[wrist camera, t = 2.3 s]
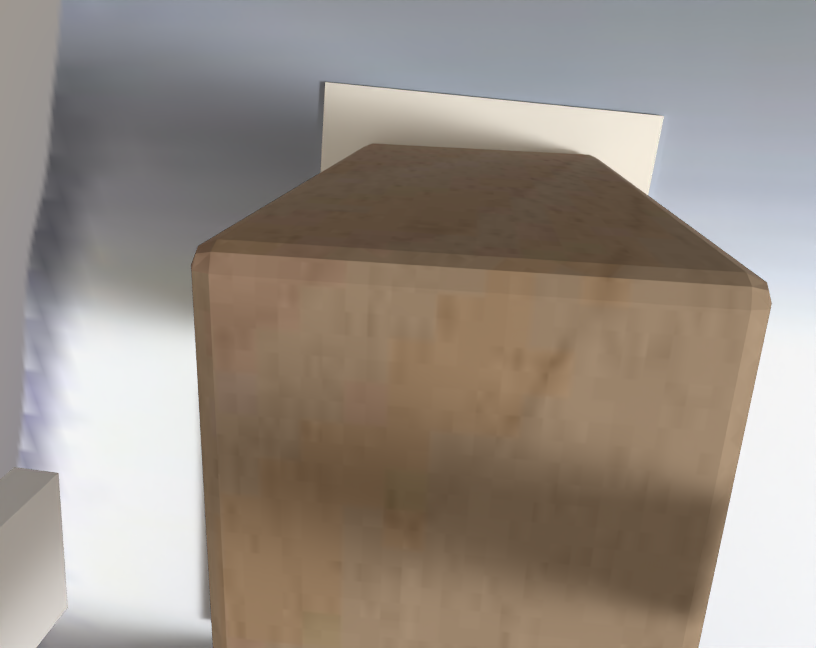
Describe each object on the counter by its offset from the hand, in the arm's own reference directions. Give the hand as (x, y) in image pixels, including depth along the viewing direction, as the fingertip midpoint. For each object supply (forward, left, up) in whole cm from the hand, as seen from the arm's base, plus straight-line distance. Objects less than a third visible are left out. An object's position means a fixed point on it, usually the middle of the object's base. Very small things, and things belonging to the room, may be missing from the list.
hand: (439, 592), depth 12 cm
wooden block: (0, 0, -22) cm, 22 cm away
